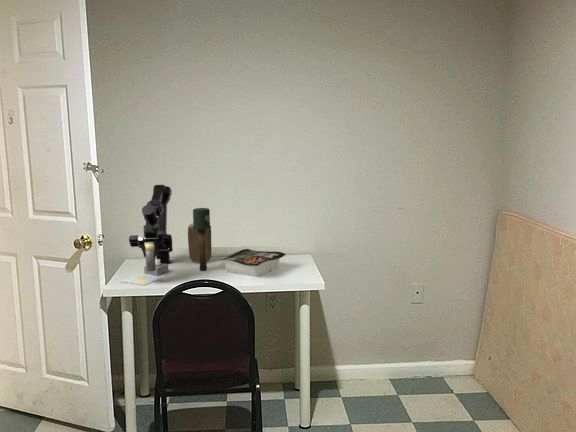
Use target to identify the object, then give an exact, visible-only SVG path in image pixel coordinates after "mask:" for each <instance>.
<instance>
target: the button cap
mask: <svg viewBox="0 0 576 432" xmlns="http://www.w3.org/2000/svg"><path fill="white" fill-rule="evenodd" d="M155 263H156V267H159V266H160V259H156V258H155Z"/></svg>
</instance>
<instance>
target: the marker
mask: <svg viewBox="0 0 576 432" xmlns="http://www.w3.org/2000/svg"><path fill="white" fill-rule="evenodd" d="M154 254H155V247H154V243H153V242H152V243H145V266H146V271H155V270H156V263H155V259H156V257H155V256H154Z"/></svg>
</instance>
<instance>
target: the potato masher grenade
mask: <svg viewBox="0 0 576 432" xmlns="http://www.w3.org/2000/svg"><path fill="white" fill-rule="evenodd" d="M210 210H211V209H210V208H207V207H197V208H196V207H195V208H193V209H192V218H193V222H192V223H193V229H198V232H199V242H200V262H199V271H201V272H206V271H207V270H208V265H207V263H208V262H206V252H205V240H206V236H205V233H206V232H205V230H206V229H209V228H211V229H212V226H211V212H210Z"/></svg>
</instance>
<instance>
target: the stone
mask: <svg viewBox="0 0 576 432" xmlns="http://www.w3.org/2000/svg"><path fill="white" fill-rule="evenodd" d="M205 232H206V233H205V236H206V240H205V252H206V262H207V263H209V262H210V261H211V258H212V227H211V228H209V229H206V230H205ZM187 243H188V255H189V259H190V261H192V262H195V263H200V242H199V232H198V229H193V222H192V223H190V224H189V225H188V228H187Z"/></svg>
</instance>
